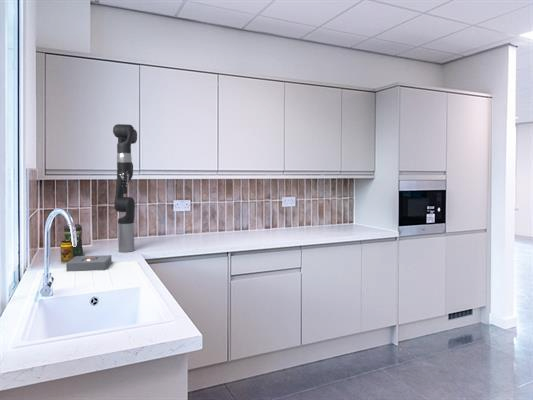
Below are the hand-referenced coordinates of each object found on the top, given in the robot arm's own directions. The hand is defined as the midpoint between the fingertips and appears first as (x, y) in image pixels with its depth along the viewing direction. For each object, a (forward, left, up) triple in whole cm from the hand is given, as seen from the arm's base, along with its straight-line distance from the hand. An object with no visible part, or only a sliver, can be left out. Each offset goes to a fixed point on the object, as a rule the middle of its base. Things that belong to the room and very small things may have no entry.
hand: (125, 193), depth 217 cm
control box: (+12, -16, -37) cm, 42 cm away
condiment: (-2, -31, -37) cm, 49 cm away
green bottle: (-14, -31, -37) cm, 50 cm away
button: (+12, -16, -36) cm, 41 cm away
